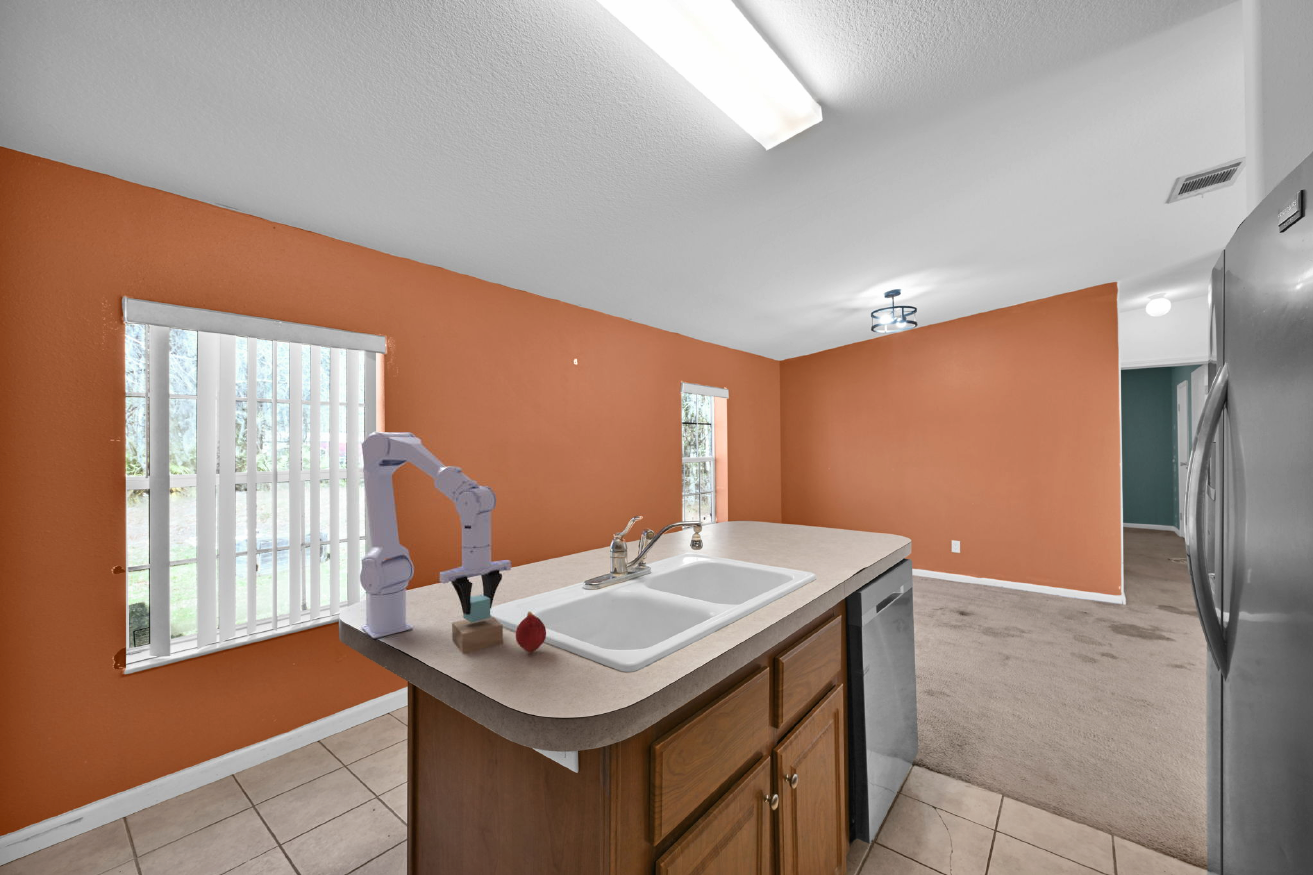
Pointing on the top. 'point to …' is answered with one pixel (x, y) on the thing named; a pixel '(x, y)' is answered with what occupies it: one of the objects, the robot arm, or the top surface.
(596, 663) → the top surface
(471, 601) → the teal cube
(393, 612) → the robot arm
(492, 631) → the walnut block
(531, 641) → the onion
